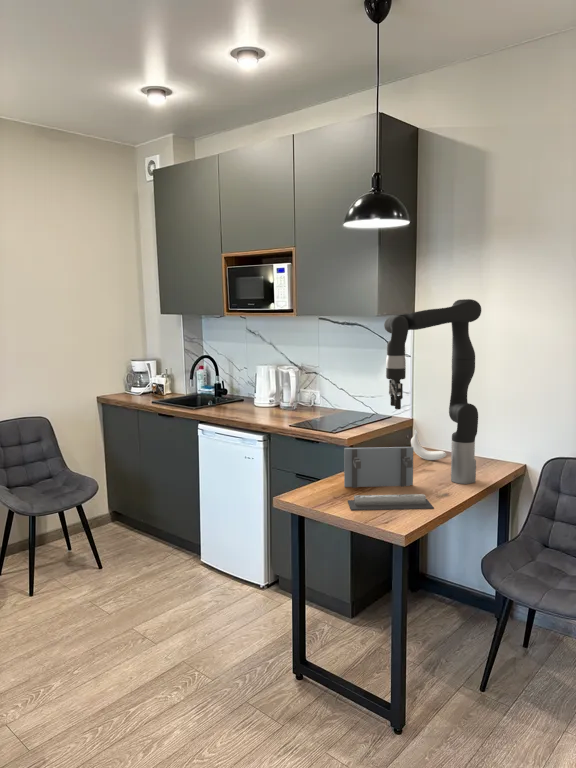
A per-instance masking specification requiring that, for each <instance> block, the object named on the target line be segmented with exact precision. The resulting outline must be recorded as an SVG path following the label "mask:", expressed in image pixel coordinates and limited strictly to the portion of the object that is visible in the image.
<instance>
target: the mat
mask: <svg viewBox="0 0 576 768" xmlns="http://www.w3.org/2000/svg"><path fill="white" fill-rule="evenodd" d="M347 504H348V506H350V507H349V509H350V511H381V510H382V511H386V510H387V511H391V510H392V511H396V510H434V509H435V508H434V506H433V505H432V503H431V502H430V501H429V500H428V498H426V504H403V505H356V506H355V504H354V499H347Z"/></svg>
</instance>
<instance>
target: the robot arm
mask: <svg viewBox="0 0 576 768" xmlns="http://www.w3.org/2000/svg"><path fill="white" fill-rule="evenodd" d="M481 315H482V306H481V304H480V302H478V301H477V300H475V299H473V298H472V299H470V298H467V299H464V298H463V299H458V300H456V301H454V302H453V303H452V305H451V306H447V307H442V308H441V307H440V308H432V309H431V308H430V309H424V310H418V311H414V312H409V313H405V314H404V313H403V314H396V315H395V314H394V315H390V316H388V317H387V318H386V319H385V320H384V323H383V327H384V329H385V331H387V333H389V334H391V336H390V340H389V341H388V342H387V343H386V345H387V346H386V361H385V364H386V365H385V369H386V370H385V374H386V375H385V378H386V379H387V380H388V383H389V385H388V388H389V389H388V395H389V397H390V406H391V407H394V409H395V410H401V409H402V399H404V398H403V385H404V384H403V383H402V382H401V380H405V379H406V375H407V374H406V367H407V366H406V363H407V362H406V342H407V338H408V334H409V331H416V330H422V329H423V330H424V329H427V328H432V327H436V326H440V325H444V324H450V323H451V332H452V334H451V335H452V336H451V337H452V339H451V340H452V341H451V342H452V343H451V344H452V345H451V347H452V348H451V351H452V353H451V389H450V391H451V392H450V398H449V407H448V413H449V415H448V416H449V417H450V419H451V421H453V422H454V423H456V427H457V428H456V431H455V432H454V431H453V432H452V435H451V450H450V451H451V458H450V459H451V461H450V463H451V464H450V481H451V482H453V483H454V484H455V483H456V484H462V485H464V484H465V485H468V484H473V483H474V484H475V483H476V480H477V479H476V478H477V477H476V476H477V474H476V473H477V460H476V459H475V455H476V454H475V450H476V449H475V448H476V446H475V445H476V437H477V434H478V428H479V427H478V426H479V412H478V408H477V407H476V405H474V404H472V403H469V402H468V391H469V390H468V389H469V386H470V383H471V381H472V379H473V377H474V375H475V371H476V352H475V349H474V346H473V344H472V341H471V337H470V332H469V327H470V324H469V323H472V322H475V321H476V320H478V319H479V318H480V316H481Z"/></svg>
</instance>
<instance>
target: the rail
mask: <svg viewBox="0 0 576 768" xmlns="http://www.w3.org/2000/svg"><path fill="white" fill-rule="evenodd" d="M426 497H427V496H426V495H425V494H424V493H410V494H369V495H368V494H367V495H363V494H361V495H353V500H354V504H355V506H356V505H403V504H426V499H427V498H426Z"/></svg>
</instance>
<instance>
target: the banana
mask: <svg viewBox="0 0 576 768" xmlns="http://www.w3.org/2000/svg"><path fill="white" fill-rule="evenodd" d="M413 433H414V434H413V436H412V437H411V439H410V447H413V453H415V455H417V456H418V457H420V458H422V459H423V460H425V461H437V460H440V459H443V458H445V457H446V456H447V452H445V451H443V450H435V451H434V450H433V451H432V450H427V449H426V448H424V447H423V446H422V445H421V444H420V442H419V438H418V434H419V432H418V431H417V430H416V429H414V430H413Z"/></svg>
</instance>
